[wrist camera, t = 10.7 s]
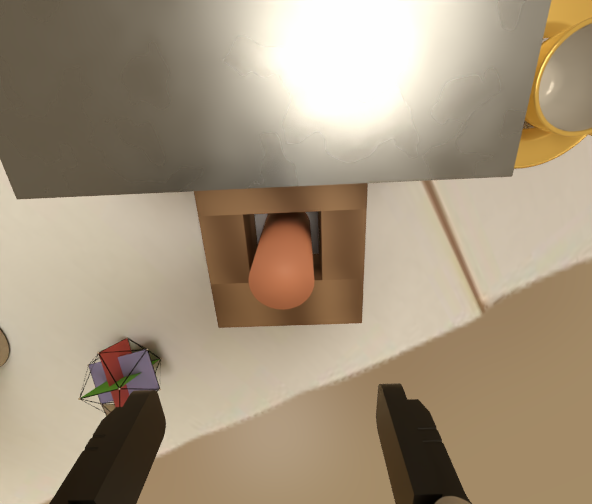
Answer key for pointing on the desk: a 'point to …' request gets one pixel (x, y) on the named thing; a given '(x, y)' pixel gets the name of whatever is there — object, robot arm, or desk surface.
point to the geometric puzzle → (121, 374)
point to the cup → (560, 86)
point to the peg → (283, 262)
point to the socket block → (327, 264)
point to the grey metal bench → (261, 92)
